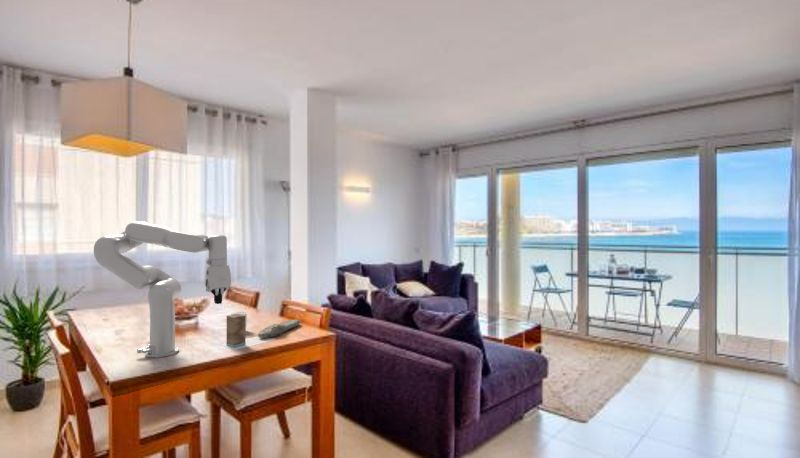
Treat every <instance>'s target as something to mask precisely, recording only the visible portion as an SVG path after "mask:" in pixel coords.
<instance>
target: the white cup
mask: <svg viewBox="0 0 800 458" xmlns="http://www.w3.org/2000/svg"><path fill="white" fill-rule="evenodd" d="M233 314H242V315H246V326H247V324H248V312H245V311H238V312H237V311H236V312H232V313H231V314H230V315H233Z"/></svg>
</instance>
